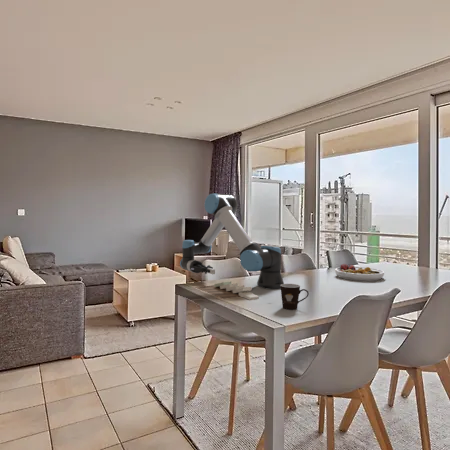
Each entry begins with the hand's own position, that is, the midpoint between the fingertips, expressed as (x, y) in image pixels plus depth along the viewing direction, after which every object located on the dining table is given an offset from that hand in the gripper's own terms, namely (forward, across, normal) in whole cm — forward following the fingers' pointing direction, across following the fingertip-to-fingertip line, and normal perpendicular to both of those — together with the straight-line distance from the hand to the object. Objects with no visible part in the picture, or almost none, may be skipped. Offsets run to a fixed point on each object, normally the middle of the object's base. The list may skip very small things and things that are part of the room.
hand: (213, 271), depth 209 cm
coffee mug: (+59, -6, -8) cm, 60 cm away
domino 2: (+11, 0, -7) cm, 13 cm away
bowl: (+23, -97, -9) cm, 100 cm away
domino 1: (+5, 0, -7) cm, 8 cm away
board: (+16, +4, -8) cm, 18 cm away
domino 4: (+24, 0, -7) cm, 25 cm away
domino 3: (+17, 0, -7) cm, 18 cm away
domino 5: (+29, 0, -6) cm, 30 cm away
